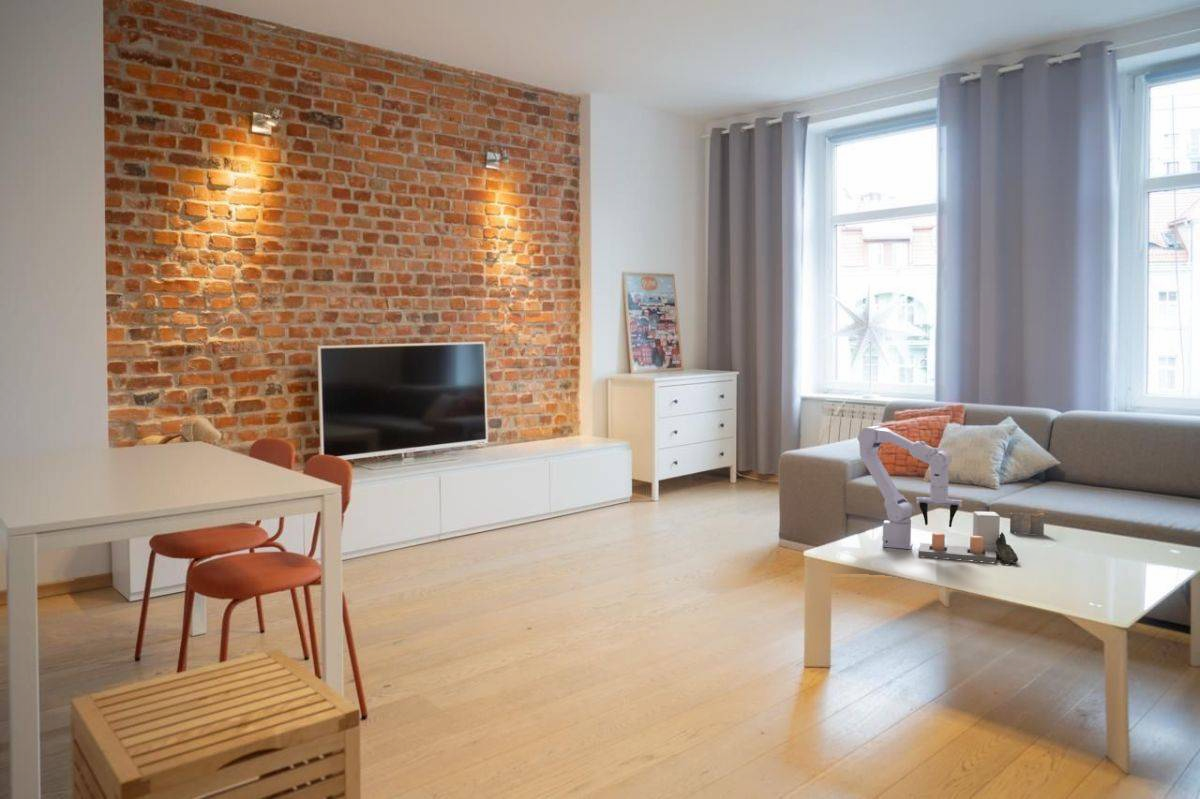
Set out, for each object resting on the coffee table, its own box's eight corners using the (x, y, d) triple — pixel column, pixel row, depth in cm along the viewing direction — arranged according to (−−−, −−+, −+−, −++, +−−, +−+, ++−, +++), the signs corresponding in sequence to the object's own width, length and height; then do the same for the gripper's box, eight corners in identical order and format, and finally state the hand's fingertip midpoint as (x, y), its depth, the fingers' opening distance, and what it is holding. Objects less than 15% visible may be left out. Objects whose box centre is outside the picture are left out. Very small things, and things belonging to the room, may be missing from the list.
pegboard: (918, 556, 299) (918, 550, 299) (920, 548, 310) (920, 543, 310) (996, 563, 290) (996, 557, 290) (995, 554, 301) (995, 549, 301)
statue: (1019, 573, 288) (1006, 547, 306) (1023, 558, 286) (1010, 532, 305) (998, 569, 289) (987, 543, 308) (1002, 554, 287) (991, 529, 306)
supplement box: (999, 551, 305) (1000, 515, 304) (976, 551, 307) (977, 515, 306) (994, 546, 312) (995, 511, 311) (972, 545, 314) (972, 510, 313)
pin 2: (969, 558, 297) (970, 537, 296) (969, 555, 300) (970, 535, 300) (982, 559, 295) (983, 538, 295) (982, 556, 299) (983, 536, 298)
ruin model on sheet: (1043, 535, 331) (1044, 509, 330) (1043, 536, 328) (1044, 510, 328) (1010, 532, 336) (1010, 506, 335) (1009, 533, 333) (1010, 508, 333)
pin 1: (931, 555, 301) (932, 534, 301) (931, 552, 305) (932, 532, 304) (944, 556, 300) (944, 535, 299) (944, 553, 303) (944, 533, 303)
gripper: (915, 486, 303) (914, 526, 304) (961, 489, 297) (960, 529, 298) (917, 483, 309) (916, 521, 310) (962, 486, 303) (961, 525, 304)
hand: (938, 525), depth 304 cm, fingers open, 7 cm apart
